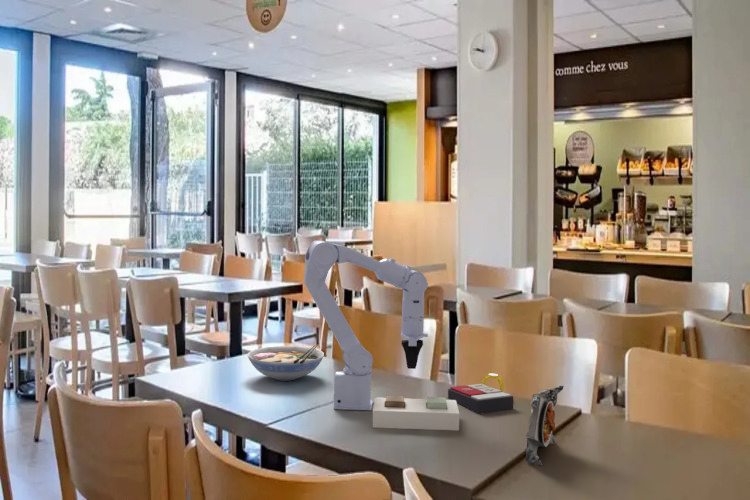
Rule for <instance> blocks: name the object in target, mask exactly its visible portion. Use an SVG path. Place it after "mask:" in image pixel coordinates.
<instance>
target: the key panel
mask: <svg viewBox="0 0 750 500" xmlns="http://www.w3.org/2000/svg"><path fill="white" fill-rule="evenodd" d="M446 402H447V407H446V409H427V398H409V397H408V398H407V397H406V398H405V397H404V408H393V407H386V397H378V396H377V397H374V401H373V403H374V404H373V407H372V428H373V429H374V428H375V429H376V428H378V429H402V430H403V429H405V430H408V429H409V430H431V431H432V430H433V431H460V411H459V406H458V403H457V402H456V400H450V399H446Z"/></svg>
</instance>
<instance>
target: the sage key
mask: <svg viewBox="0 0 750 500" xmlns="http://www.w3.org/2000/svg"><path fill="white" fill-rule="evenodd" d="M426 399H427V409H446V407H447V402H446V400H447V399H446V397H439V396H438V397H437V396H435V397H434V396H427V397H426Z"/></svg>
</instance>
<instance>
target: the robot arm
mask: <svg viewBox="0 0 750 500" xmlns="http://www.w3.org/2000/svg"><path fill="white" fill-rule="evenodd" d="M335 263H337V265H338V264H343V263H350V264H352V265H355V266H357V267H359V268H363V269H366V270H368V271H371V272H374V274H375V277H376V279H377V280H379V281H382V282H384V283H385V284H386V283H387V284H389V285H391V286H394V287H396V288H401V289H402V303H401V332H400V337H401V338H403V339H402V340H401V346H402V348H403V351H404V354H405V362H406V367H407V370H408V369H412V370H416V369H417V365H418V360H419V355H420V352H421V350H422V347H423V346H424V340H423V338H427V337H428V336H429V333H428V332H424V328H425V327H424V324H425V323H424V322H425V321H424V320H425V319H424V318H425V292H426V290H427V289H428V286H429V282H428V280H427V277H426V276H425V274H424V273H423V272H419V271H417V270H414V269H412V266H410V265H406V266H405V265H403V264H401V263H398V262H396V259H394V258H391V257H390V258H389V259H388V258H383V259H380V260H377V259H376V258H372V257H371V256H368V255H366V254H364V253H361V252H359V251H357V250H355V249H352V248H350V247H348V246H346V245H345V246H344V245H341V244H337V243H332V242H328V241H325V240H323V239H321V240H320V239H317V240H314V241H313V242H311V243H310V244H309V246H308V247H307V251H306V252H305V255H304V274H303V276H304V277H303V283H304V285H305V288H306V289H307V291H308V293H309V294H310V296H311V298H312V299H313V301H314V302H315V305H316V306H317V308H318V310H319V311H320V314H321V315H322V317H323V318H324V320H325V321H326V324H327V326H328V327H329V329H330V331H331V332H332V334H333V336H334V338H335V339H336V340H337V342H338V346H339V347H340V350H341V352H342V353H341V354H342V356H341V357H342V360H343V362H344V363H345V365H344V367H343V369H342V371H341V370H339V371H335V375H334V388H333V389H334V392H333V402H334V403H333V409H334V410H344V411H345V410H347V411H348V410H351V411H353V410H354V411H372V410H373V403H374V401H373V400H372V399H371V398H372V397H371V396H372V395H371V394H372V392H371V391H372V389H371V388H372V368H373V365H374V359H373V355H372V353H371V352H370V351H368V350H367V349H365V347H364V345H362V343H361V342H360V340H359V339H358V338H357V336H356V335H355V332H354V331H353V329H352V328H351V326H350V324H349V323H348V320H347V319H346V317H345V315H344V313H343V311H342V310H341V308H340V307H339V304H338V303H337V301H336V299H335V298H334V295H332V292H331V290H330V289H329V288H328V285H327V283H326V280H327V276H328V275H329V271H330V270H331V268H332V267H333V266H335V265H334V264H335Z"/></svg>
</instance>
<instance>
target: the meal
mask: <svg viewBox="0 0 750 500" xmlns="http://www.w3.org/2000/svg"><path fill="white" fill-rule="evenodd" d="M563 389H564V385H559V386H557V387H552V388H549V389H546V388H543V389H542V390H539V391H538V392H537V393H534V394H532V395H531V401H530V408H531V409H530V412H531V415H530V416H529V419H528V423H527V424H528V431H527V432H526V435H525V436H526V449H525V461H526V462H527V463H529V464H531V465H537V466H538V465H540V466H544V464H543V462H542V461H541V459H540V456H539V455H538V448H539V447H542V448H547V446H548V445H549V444H552V443H553V444H555V443H556V438H555V435H553V432H554V431H556V429H557V428H556V423H555V420H556V419H555V416H556V412H555V410H554V409H555V406H556V404H557V403H558V395H559V393H561V391H563Z"/></svg>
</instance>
